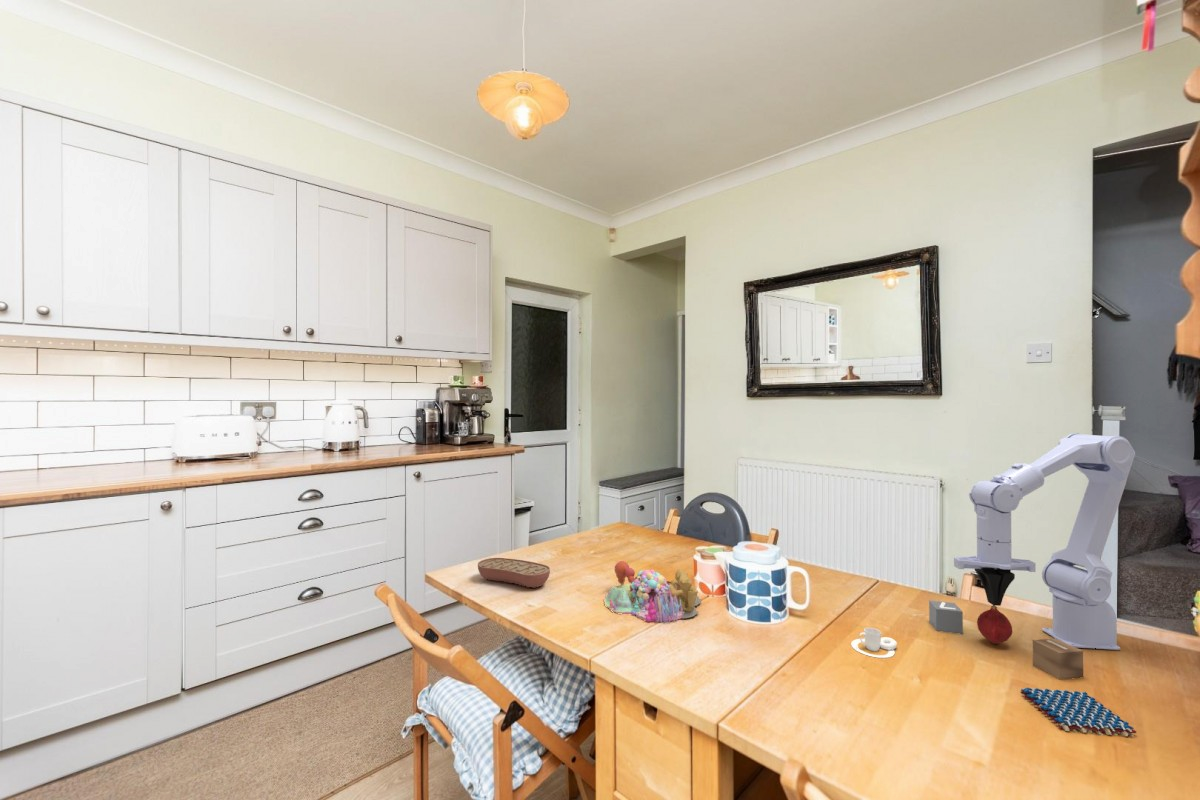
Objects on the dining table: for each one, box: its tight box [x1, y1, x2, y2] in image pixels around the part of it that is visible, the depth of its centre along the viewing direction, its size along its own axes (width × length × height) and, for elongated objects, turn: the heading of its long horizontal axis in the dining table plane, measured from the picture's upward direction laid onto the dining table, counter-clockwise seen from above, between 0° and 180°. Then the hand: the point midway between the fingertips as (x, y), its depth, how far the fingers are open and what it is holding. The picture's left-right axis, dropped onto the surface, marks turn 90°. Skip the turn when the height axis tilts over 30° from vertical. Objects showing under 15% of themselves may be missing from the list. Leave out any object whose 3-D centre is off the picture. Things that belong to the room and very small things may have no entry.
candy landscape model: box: [603, 561, 702, 624], centre depth 128 cm, size 25×24×9 cm
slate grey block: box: [928, 600, 964, 635], centre depth 113 cm, size 5×5×5 cm
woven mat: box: [1020, 686, 1137, 738], centre depth 82 cm, size 10×11×2 cm
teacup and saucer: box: [850, 627, 898, 659], centre depth 104 cm, size 9×8×4 cm
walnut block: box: [1032, 637, 1084, 681], centre depth 95 cm, size 5×5×5 cm
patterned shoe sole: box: [477, 557, 551, 588], centre depth 144 cm, size 23×10×5 cm, turn 64°
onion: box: [976, 605, 1013, 645], centre depth 105 cm, size 6×6×8 cm
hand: (994, 603), depth 105 cm, fingers closed
